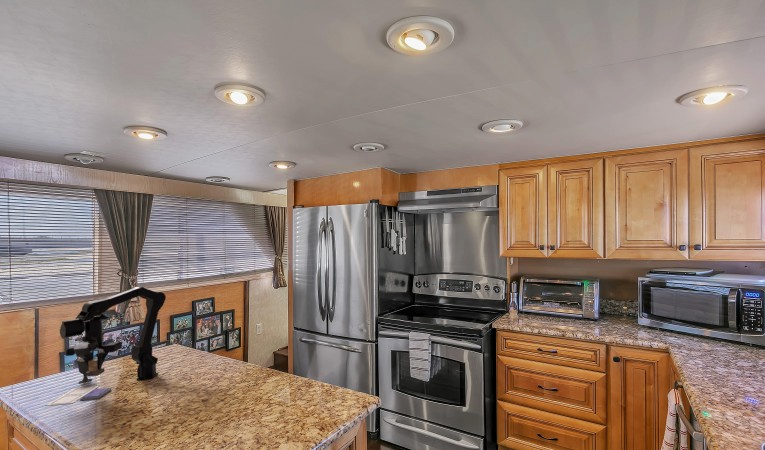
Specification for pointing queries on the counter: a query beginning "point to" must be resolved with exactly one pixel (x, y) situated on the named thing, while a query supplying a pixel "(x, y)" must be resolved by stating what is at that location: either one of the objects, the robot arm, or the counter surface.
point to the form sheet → (72, 396)
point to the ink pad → (95, 394)
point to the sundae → (83, 369)
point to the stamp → (94, 368)
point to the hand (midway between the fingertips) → (95, 369)
